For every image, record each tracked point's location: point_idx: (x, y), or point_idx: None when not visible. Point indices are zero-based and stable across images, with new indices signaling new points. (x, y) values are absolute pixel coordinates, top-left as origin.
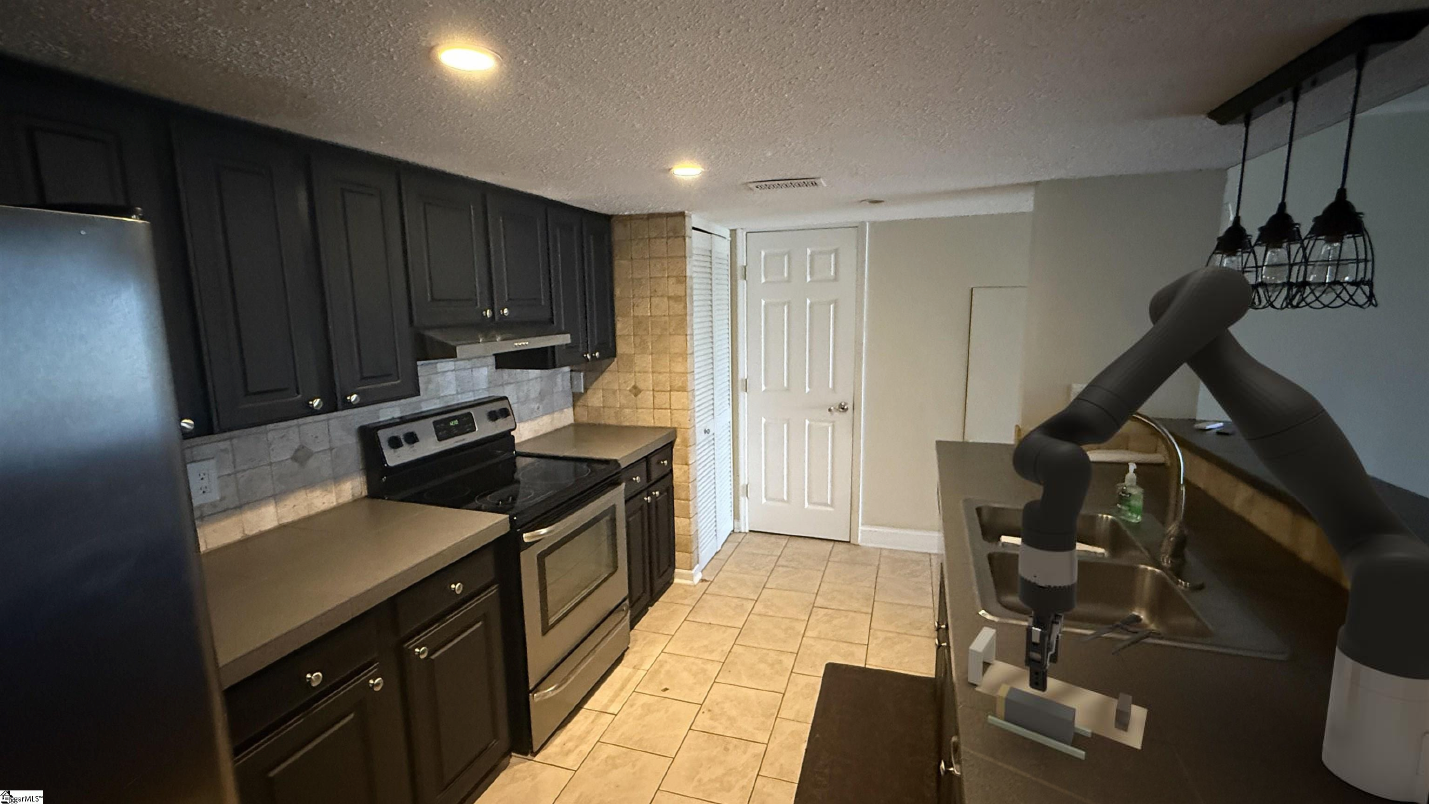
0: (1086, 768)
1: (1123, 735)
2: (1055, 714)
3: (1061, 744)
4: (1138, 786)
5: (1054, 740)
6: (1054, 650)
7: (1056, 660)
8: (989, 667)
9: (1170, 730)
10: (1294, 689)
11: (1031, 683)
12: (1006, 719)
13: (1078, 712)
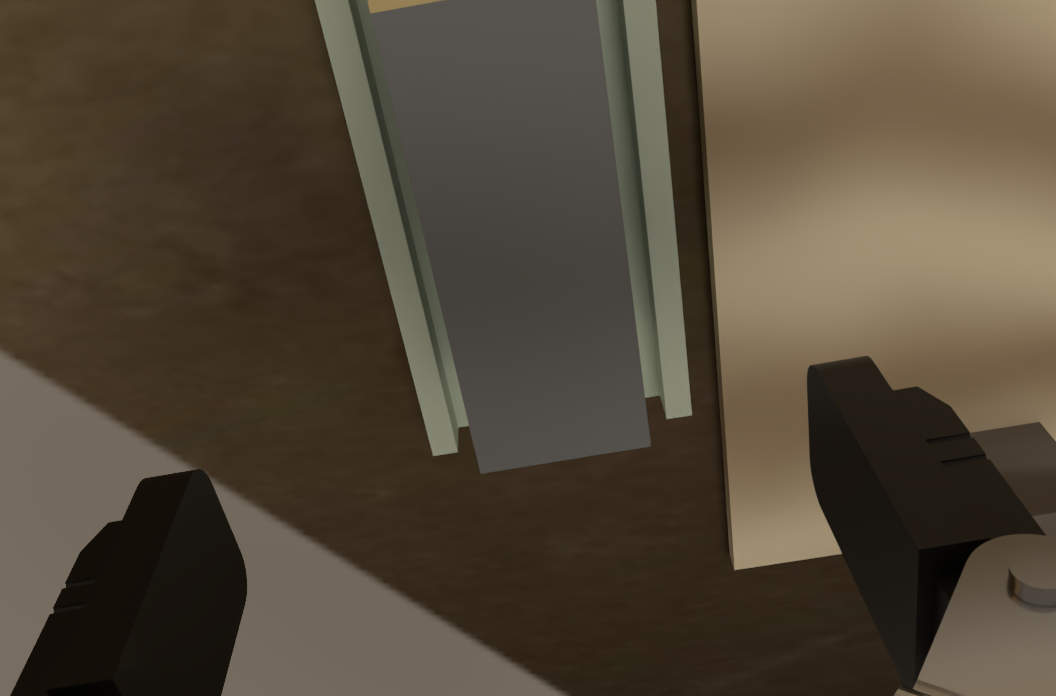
0: (406, 440)
1: (802, 496)
2: (468, 385)
3: (420, 350)
4: (471, 604)
5: (422, 312)
6: (860, 574)
7: (826, 505)
8: None
9: None
10: None
11: (82, 556)
12: None
13: (878, 279)
